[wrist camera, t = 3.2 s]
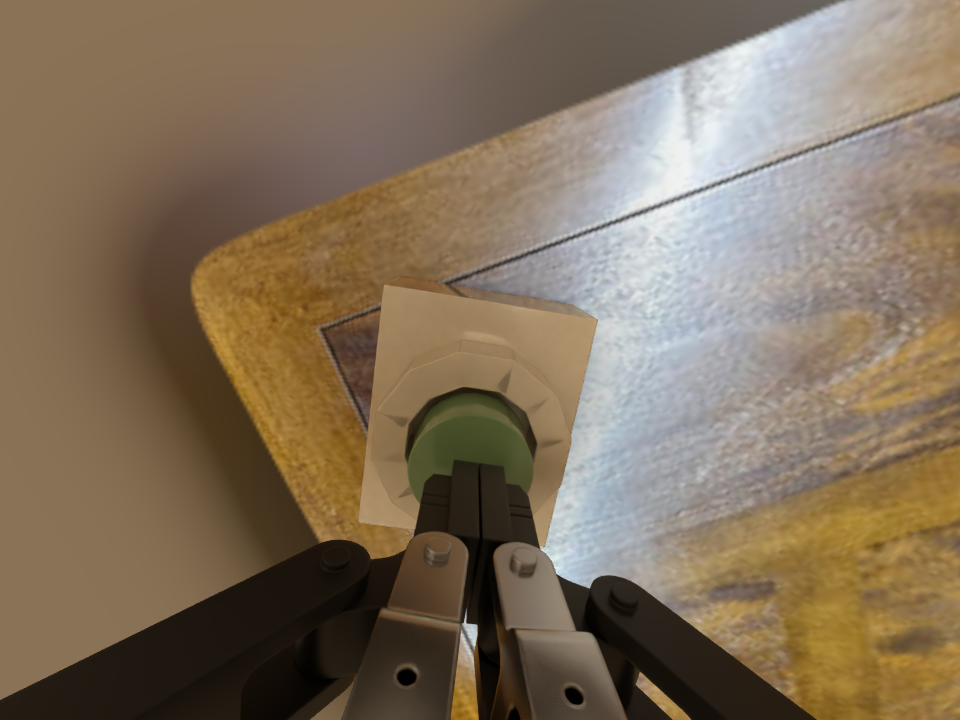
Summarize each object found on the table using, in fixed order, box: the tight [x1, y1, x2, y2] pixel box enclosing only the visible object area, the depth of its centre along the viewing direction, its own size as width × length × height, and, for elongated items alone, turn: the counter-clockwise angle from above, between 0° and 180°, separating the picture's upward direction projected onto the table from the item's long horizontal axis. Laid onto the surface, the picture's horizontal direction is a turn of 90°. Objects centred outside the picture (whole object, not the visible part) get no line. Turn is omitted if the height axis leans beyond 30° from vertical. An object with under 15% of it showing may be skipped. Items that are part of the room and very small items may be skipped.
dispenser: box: [358, 277, 598, 547], centre depth 18 cm, size 10×8×6 cm
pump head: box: [408, 393, 534, 503], centre depth 15 cm, size 4×4×2 cm
